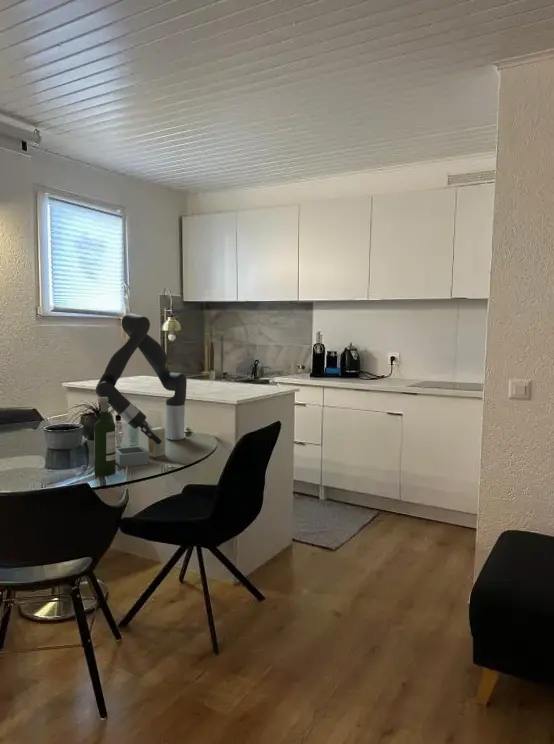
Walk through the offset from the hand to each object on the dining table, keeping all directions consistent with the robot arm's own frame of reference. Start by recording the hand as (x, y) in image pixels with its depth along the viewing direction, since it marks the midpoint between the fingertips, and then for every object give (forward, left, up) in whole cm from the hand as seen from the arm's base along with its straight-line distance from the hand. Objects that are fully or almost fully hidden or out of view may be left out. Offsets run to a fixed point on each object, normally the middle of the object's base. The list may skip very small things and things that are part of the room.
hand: (159, 440), depth 239 cm
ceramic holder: (+6, -14, -6) cm, 17 cm away
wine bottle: (+18, -27, -7) cm, 33 cm away
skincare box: (0, -1, -7) cm, 7 cm away
